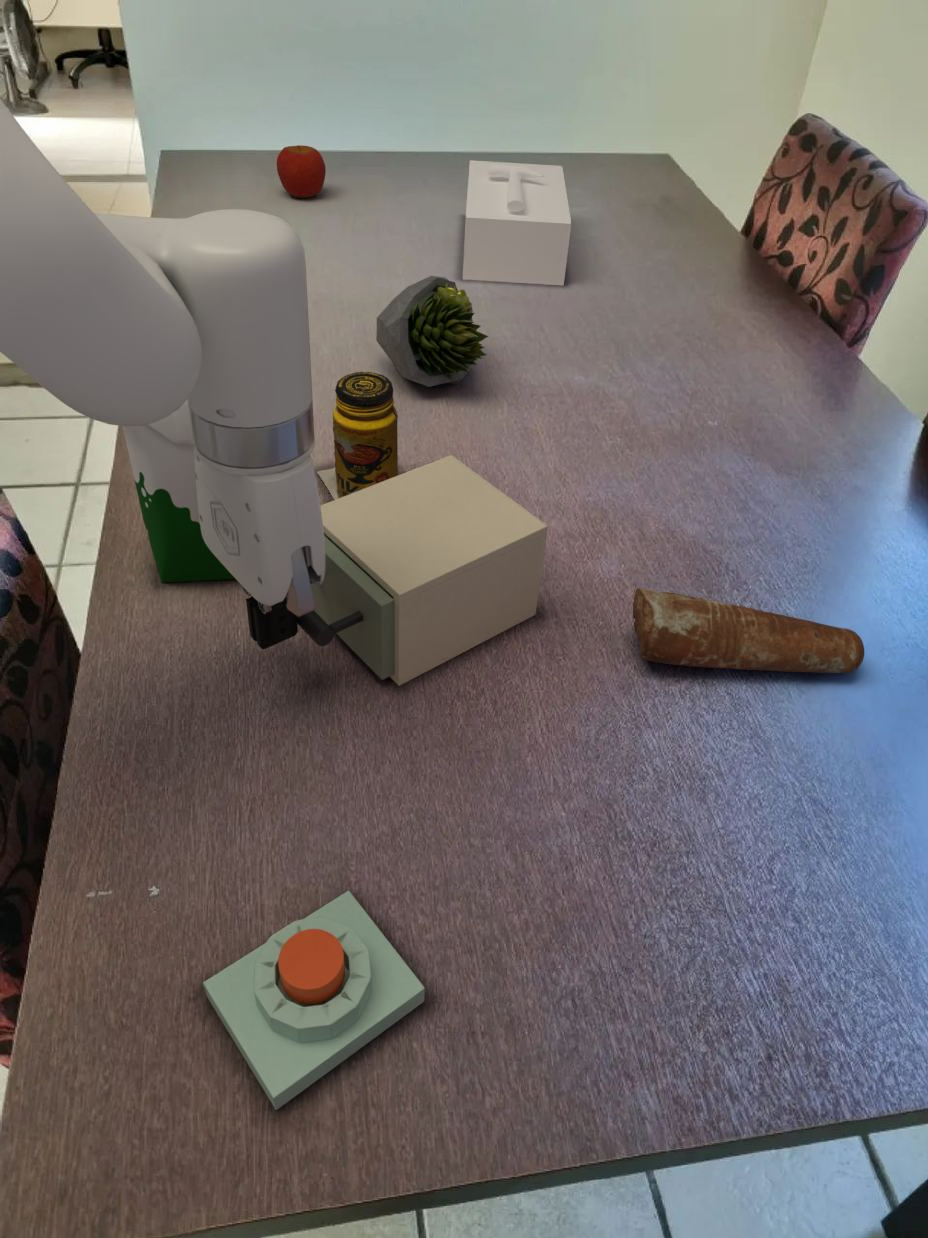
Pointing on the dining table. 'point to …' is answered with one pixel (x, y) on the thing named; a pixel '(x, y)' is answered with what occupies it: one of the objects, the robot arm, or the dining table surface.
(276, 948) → the block
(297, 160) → the apple
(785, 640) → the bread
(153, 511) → the milk carton
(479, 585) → the cabinet
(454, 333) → the potted plant
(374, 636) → the drawer
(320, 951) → the button
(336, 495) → the condiment
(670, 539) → the dining table surface
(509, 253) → the white embossed block
